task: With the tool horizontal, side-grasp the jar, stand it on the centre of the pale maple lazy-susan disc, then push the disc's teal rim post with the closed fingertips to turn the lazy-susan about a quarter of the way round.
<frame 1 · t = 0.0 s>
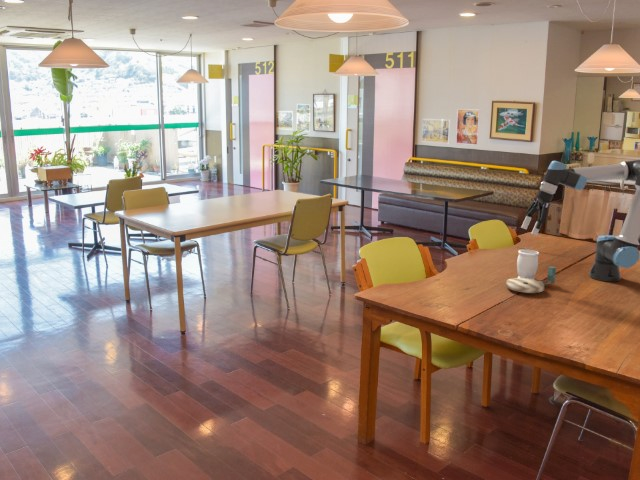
hand: (528, 231, 303), 28 cm above the table, tool tilted 20°, fingers open, 13 cm apart
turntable: (532, 277, 301), point 6 cm above the table, hinge at 0.0°
jar: (525, 279, 319), on the table
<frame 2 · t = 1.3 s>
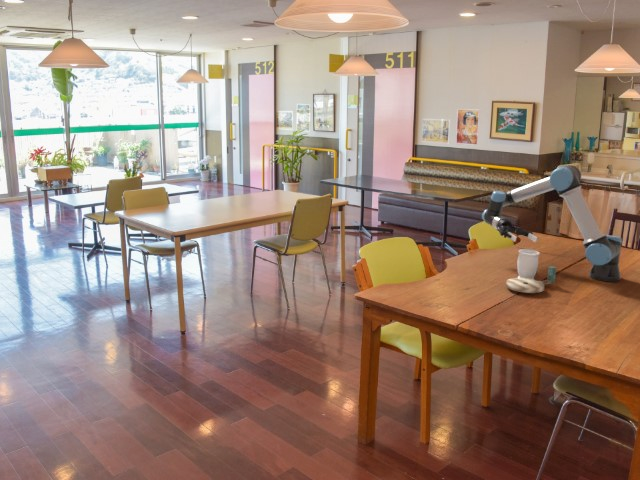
hand: (526, 239, 319), 20 cm above the table, tool horizontal, fingers open, 13 cm apart
nothing on the table moved.
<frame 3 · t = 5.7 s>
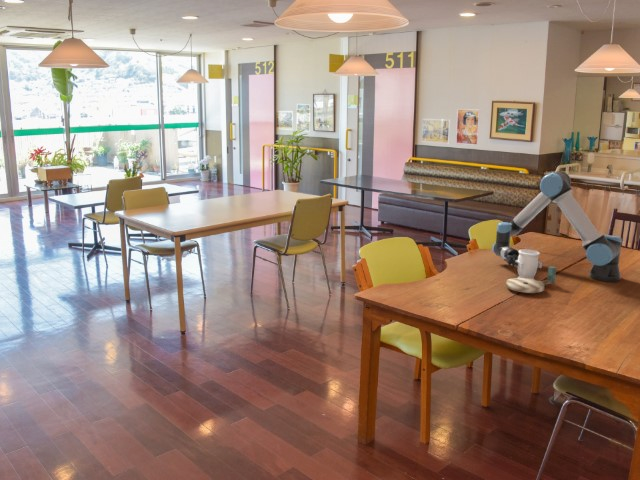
hand: (531, 265, 313), 9 cm above the table, tool horizontal, fingers closed on jar, 10 cm apart
jar: (525, 279, 319), on the table, touching gripper
everything else where it was.
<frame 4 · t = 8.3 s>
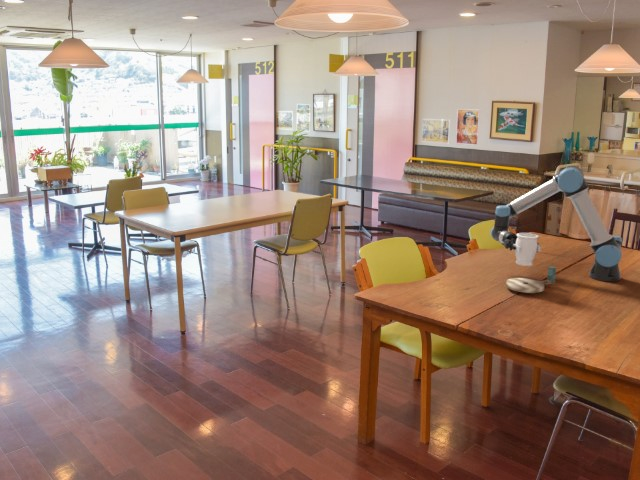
hand: (529, 249, 299), 20 cm above the table, tool horizontal, fingers closed on jar, 10 cm apart
jar: (523, 264, 305), point 11 cm above the table, touching gripper
everything else where it was.
when the fingers open (13 cm above the table, at t = 10.9 s): jar stays where it is, resting on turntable.
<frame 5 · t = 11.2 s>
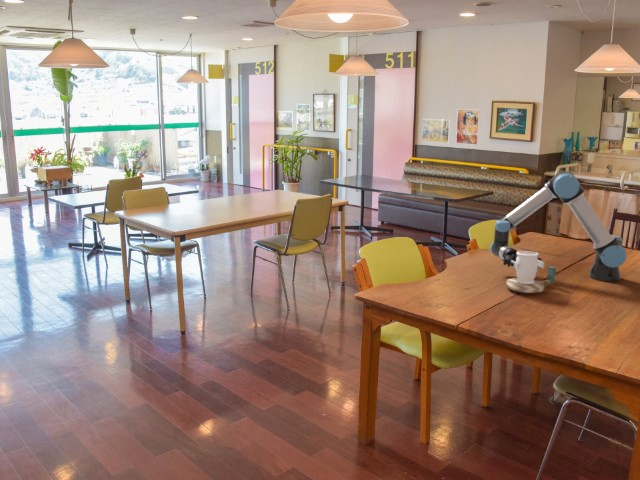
hand: (530, 266, 295), 13 cm above the table, tool horizontal, fingers open, 13 cm apart
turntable: (532, 277, 301), point 6 cm above the table, hinge at 0.0°, touching jar
jar: (525, 282, 300), point 4 cm above the table, touching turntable
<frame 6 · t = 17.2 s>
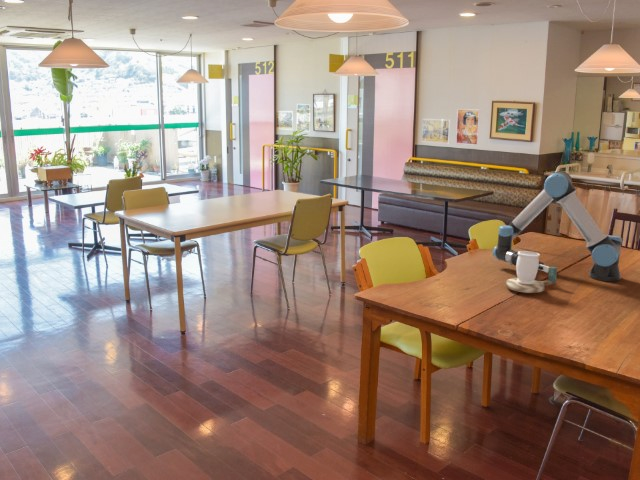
hand: (549, 270, 306), 8 cm above the table, tool horizontal, fingers closed
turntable: (533, 278, 301), point 6 cm above the table, hinge at -2.4°, touching gripper, jar
everything else where it was.
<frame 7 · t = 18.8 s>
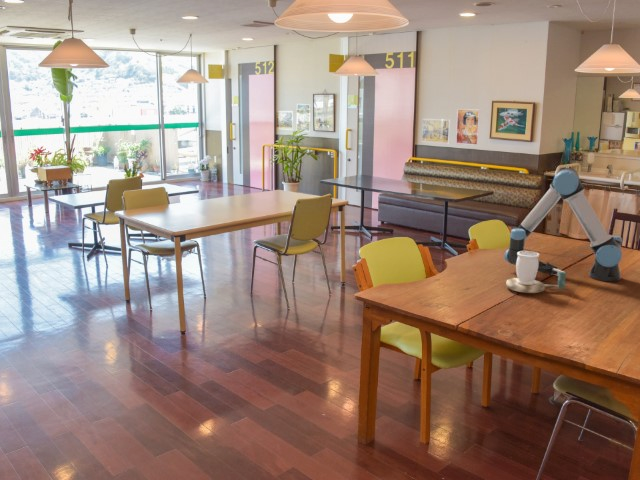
hand: (563, 274, 299), 8 cm above the table, tool horizontal, fingers closed
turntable: (535, 279, 299), point 6 cm above the table, hinge at -31.2°, touching gripper, jar
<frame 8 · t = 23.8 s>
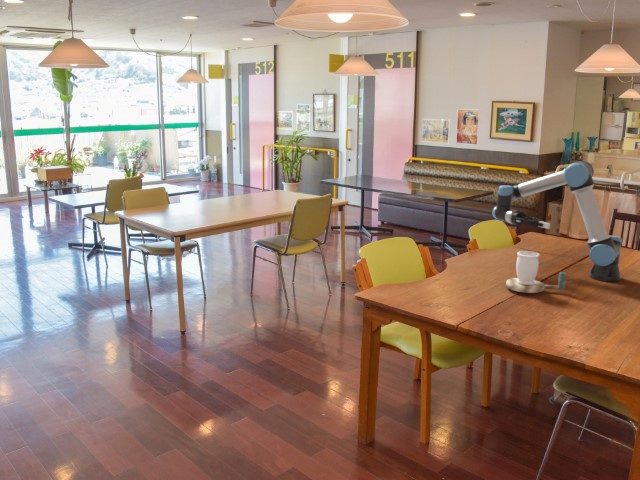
hand: (549, 226, 306), 30 cm above the table, tool horizontal, fingers closed
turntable: (535, 279, 299), point 6 cm above the table, hinge at -34.3°, touching jar
at the end: jar 0.2 cm from the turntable (horizontally); jar tilted 1°; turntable at -34° (first picture: +0°) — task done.
